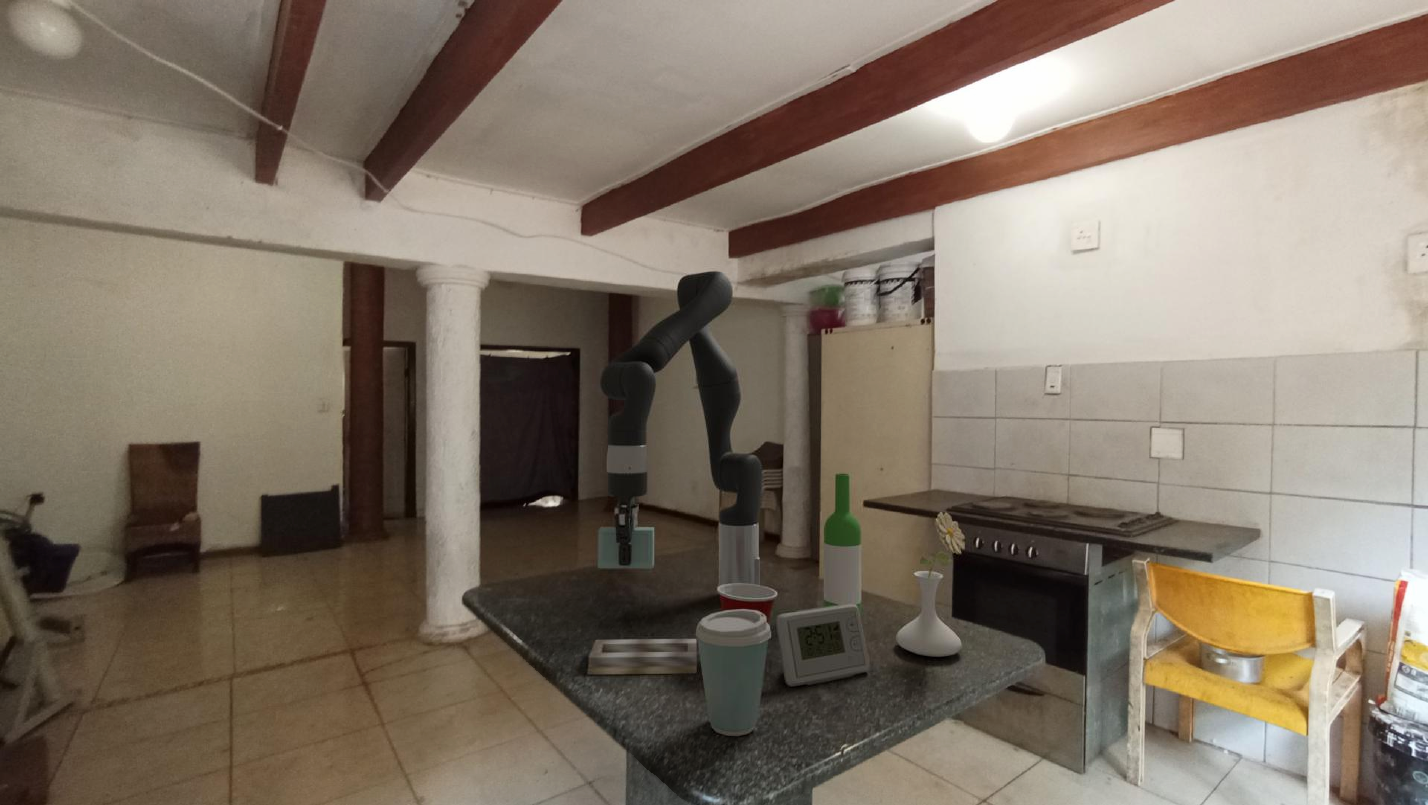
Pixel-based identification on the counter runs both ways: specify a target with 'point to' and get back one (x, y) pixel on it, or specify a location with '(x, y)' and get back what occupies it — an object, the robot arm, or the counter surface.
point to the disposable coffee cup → (733, 667)
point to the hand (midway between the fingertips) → (626, 562)
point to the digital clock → (821, 644)
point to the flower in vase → (933, 600)
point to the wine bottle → (842, 551)
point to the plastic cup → (747, 598)
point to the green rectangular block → (639, 549)
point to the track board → (643, 656)
